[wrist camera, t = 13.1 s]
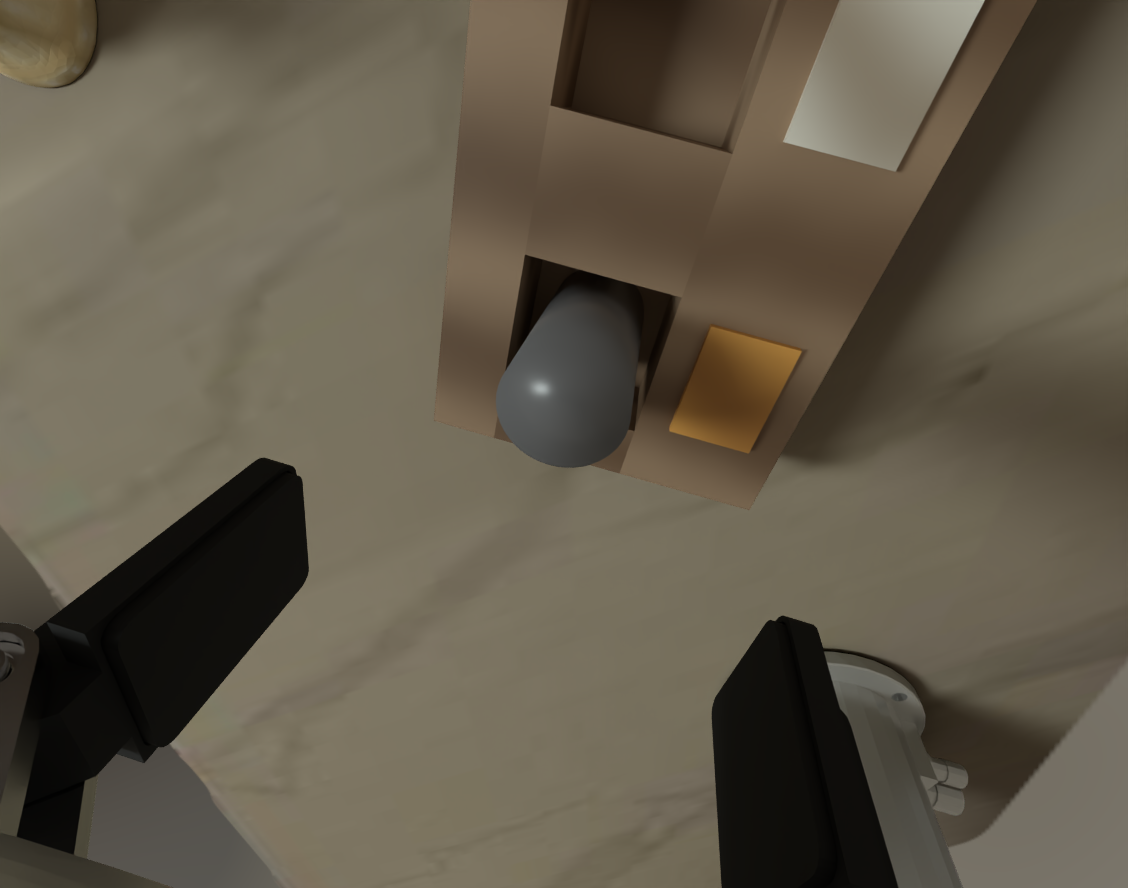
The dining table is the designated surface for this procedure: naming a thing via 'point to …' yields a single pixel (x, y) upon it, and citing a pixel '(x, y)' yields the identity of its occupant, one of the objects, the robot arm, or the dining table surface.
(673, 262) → the socket block
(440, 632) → the dining table surface
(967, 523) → the dining table surface
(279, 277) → the dining table surface
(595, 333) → the plug
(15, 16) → the hand bell
